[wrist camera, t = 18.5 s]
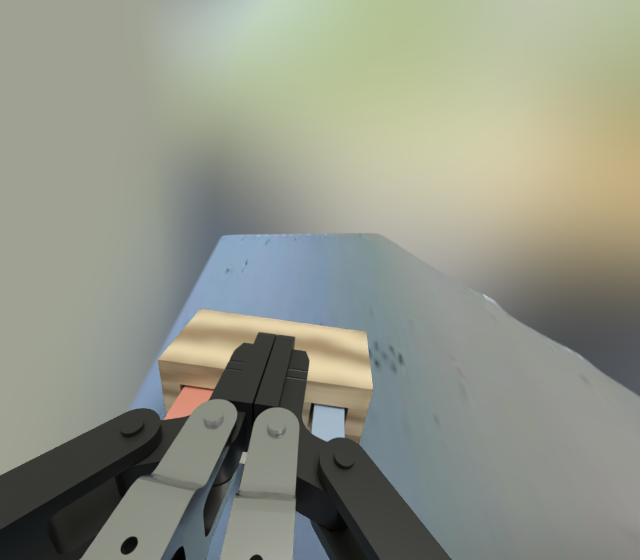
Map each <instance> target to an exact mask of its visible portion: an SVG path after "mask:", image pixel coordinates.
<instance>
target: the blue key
mask: <svg viewBox="0 0 640 560" xmlns="http://www.w3.org/2000/svg"><path fill="white" fill-rule="evenodd" d="M311 433H312V434H313V435H315V436H317V437H318V438H320V439H322V440H325V441H327V442H328V441H329V440H331V439H333V438H337V437H343V438H345V430H344V407H338V406H330V405H323V404H316V403H314V406H313V415H312V424H311Z"/></svg>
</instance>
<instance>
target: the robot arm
mask: <svg viewBox="0 0 640 560" xmlns="http://www.w3.org/2000/svg"><path fill="white" fill-rule="evenodd" d="M294 347H295V337H293V336H286V335H279V334H278V335H277V334H271V333H264V332H258V334H257V337H256V339H255V341H254V343H253V344H251V343H243V344H241V345H240V346H239V347H238V348H236V349H235V350H234V352H233V354H232V356H231V358H230V360H229V362H228V364H227V365H226V367H225V369H224V371H223V373H222V375H221V377H220V379H219V381H218V383H217V385H216V387H215V389H214V391H213V393H212V395H211V397H210V399H209V400H208V401H206V402H204V403H202V404H201V405H199V406H198V407H197V408H196V409H195V410H194V411H193V412H192V414H191V415H188V416H185V417H180V418H174V419H167V420H160V417H159V415H158V414H157V413H156V412H155V411H153V410H151V409H145V408H141V409H135V410H131V411H128V412H126V413H124V414H122V415H120V416H118V417H116V418H114V419H112V420H110V421H108V422H106V423H104V424H102V425H100V426H98V427H96V428H94V429H92V430H90V431H88V432H86V433H84V434H82V435H80V436H78V437H76V438H74V439H72V440H70V441H68V442H66V443H64V444H62V445H60V446H59V447H56V448H54V449H52V450H50V451H48V452H46V453H44V454H42V455H40V456H38V457H36V458H34V459H32V460H30V461H28V462H26V463H24V464H22V465H20V466H18V467H17V468H14V469H12V470H10V471H8V472H6V473H4V474H2V475H1V476H0V560H80V559H81V560H207V555H208V550H209V546H210V543H211V540H212V537H213V535H214V532H215V530H216V527H217V524H218V522H219V519H220V517H221V514H222V512H223V509H224V507H225V504H226V502H227V499H228V496H229V494H230V491H231V489H232V486H233V484H234V481H235V479H236V476H237V468H238V466H239V462H240V459H241V456H242V453H243V452H248V453H247V457H246V462H245V466H244V471H243V475H242V480H241V484H240V488H239V491H238V493H236V495H235V498H234V501H233V505H232V509H231V513H230V518H229V522H228V526H227V531H226V535H225V539H224V544H223V548H222V552H221V557H220V560H292V556H293V540H294V523H295V510H296V511H297V512H299V513H301V514H302V515H304V516H306V517H308V518H309V519H310V521H311V524H312V527H313V529H314V531H315V533H316V534H317V536H318V538H319V540H320V542H321V544H322V546H323V548H324V549H325V551H326V553H327V555H328V557H329V559H330V560H452V559H451V558H450V557H449V556H448V555H447V553H446V552H445V551H444V550H443V548H442V547H441V546H440V545H439V543H438V542H437V541H436V540H435V538H434V537H433V536H432V535H431V533H430V532H429V531H428V530H427V528H426V527H425V526H424V525H423V523H422V522H421V521H420V520H419V518H418V517H417V516H416V515H415V513H414V512H413V511H412V510H411V508H410V507H409V506H408V505H407V503H406V502H405V501H404V500H403V498H402V497H401V496H400V495H399V493H398V492H397V491H396V490H395V488H394V487H393V486H392V485H391V483H390V482H389V481H388V480H387V478H386V477H385V476H384V475H383V473H382V472H381V471H380V470H379V468H378V467H377V466H376V465H375V463H374V462H373V461H372V460H371V458H370V457H369V456H368V455H367V453H366V452H365V451H364V450H363V448H362V447H361V446H360V445H359V444H358V443H356V442H355V441H353V440H351V439H348V438H343V437H337V438H333V439H331V440H329V441H328V442H327V441H325V440H322V439H320V438H318V437H317V436H315V435H313V434H312V433H311V432H310V431H309V430H308V429H307V428H306V427H305V425H304V423H303V420H302V412H303V406H304V399H305V392H306V385H307V377H308V369H309V362H310V360H309V358H308V355H307V353H306V351H302V350H295V349H294Z"/></svg>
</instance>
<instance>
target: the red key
mask: <svg viewBox="0 0 640 560" xmlns="http://www.w3.org/2000/svg"><path fill="white" fill-rule="evenodd" d="M213 391H214V389H210V388H203V387H196V386H189V385H185V387H184V388H183V390H182V391H181V393H180V394H179V396H178V398H177V399H176V401H175V402H174V404H173V405H172V407H171V409H170V410H169V412H168V413H167V415H166V416H165V418H164V419H163V420H167V419H174V418H180V417H185V416H188V415H191V414H192V412H193V411H194V410H195V409H196V408H197V407H198V406H199V405H201V404H202V403H204V402H206V401H208V400H209V399H210V397H211V395H212V393H213Z"/></svg>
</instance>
